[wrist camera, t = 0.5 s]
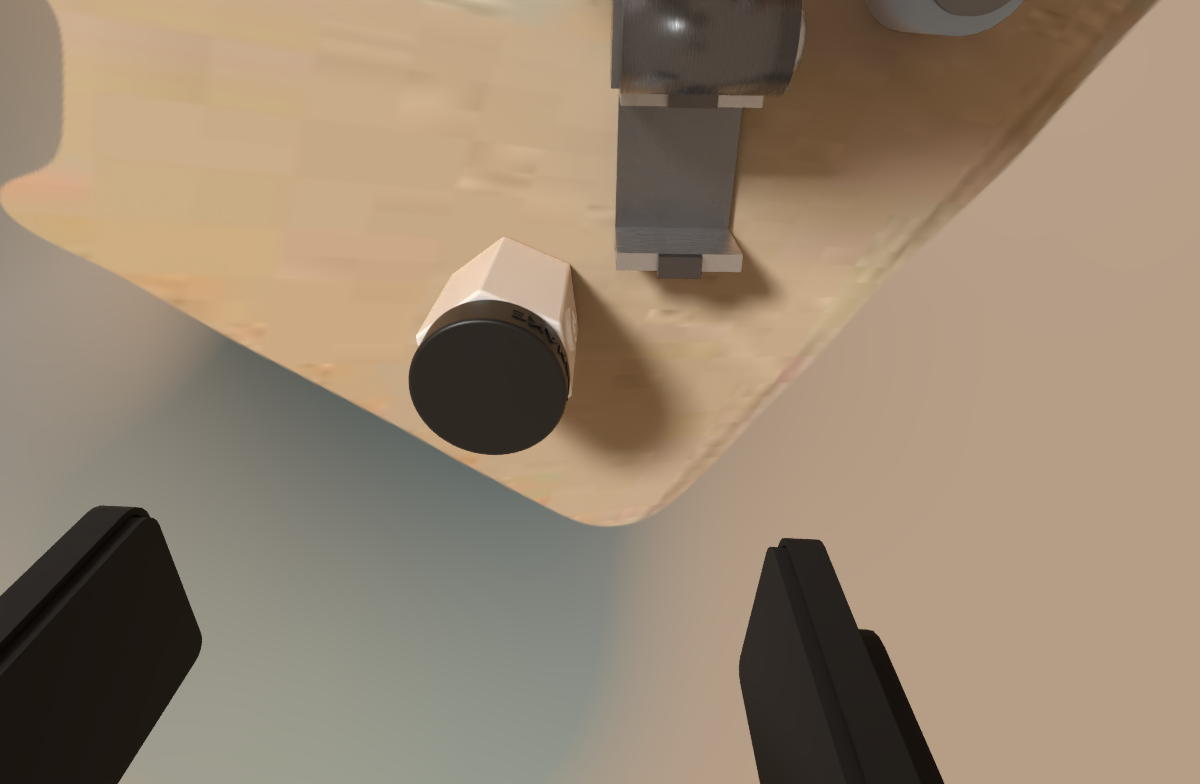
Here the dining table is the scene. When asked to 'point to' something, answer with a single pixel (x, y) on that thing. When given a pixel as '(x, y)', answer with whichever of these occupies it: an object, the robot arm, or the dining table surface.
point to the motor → (690, 121)
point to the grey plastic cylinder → (941, 15)
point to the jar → (498, 351)
